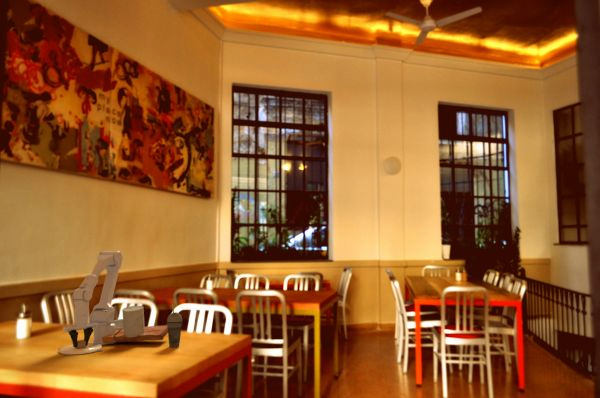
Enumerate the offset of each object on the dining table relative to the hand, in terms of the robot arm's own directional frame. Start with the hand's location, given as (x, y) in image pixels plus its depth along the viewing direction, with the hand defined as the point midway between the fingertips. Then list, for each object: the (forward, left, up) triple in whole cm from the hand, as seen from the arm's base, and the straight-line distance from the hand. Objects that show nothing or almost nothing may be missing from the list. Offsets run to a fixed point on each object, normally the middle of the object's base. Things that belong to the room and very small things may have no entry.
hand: (80, 346), depth 202 cm
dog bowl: (-22, -20, -2) cm, 30 cm away
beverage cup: (-37, +16, -3) cm, 40 cm away
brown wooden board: (-25, -4, 0) cm, 25 cm away
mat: (0, 0, -2) cm, 2 cm away
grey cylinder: (-24, -1, +2) cm, 24 cm away
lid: (0, 0, -1) cm, 1 cm away
